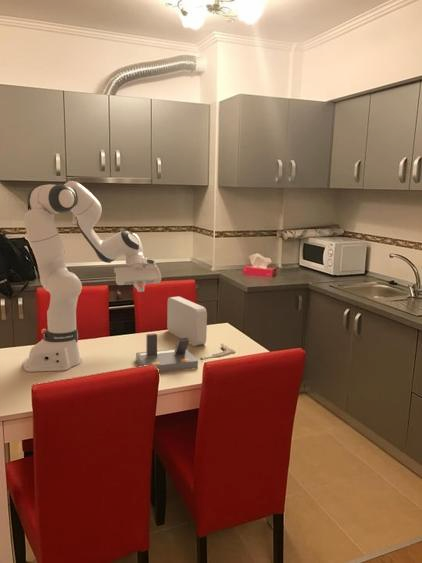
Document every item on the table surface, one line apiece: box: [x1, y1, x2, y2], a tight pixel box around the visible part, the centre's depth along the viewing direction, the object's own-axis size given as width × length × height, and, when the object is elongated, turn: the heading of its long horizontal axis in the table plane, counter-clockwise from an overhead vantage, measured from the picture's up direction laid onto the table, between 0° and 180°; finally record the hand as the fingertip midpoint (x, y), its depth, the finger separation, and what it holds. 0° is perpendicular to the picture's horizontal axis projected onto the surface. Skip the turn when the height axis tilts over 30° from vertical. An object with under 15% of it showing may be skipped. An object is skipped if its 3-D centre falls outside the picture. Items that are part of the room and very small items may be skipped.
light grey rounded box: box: [166, 296, 208, 347], centre depth 224 cm, size 29×8×18 cm, turn 33°
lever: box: [174, 337, 189, 355], centre depth 191 cm, size 5×2×10 cm
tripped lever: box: [145, 333, 158, 358], centre depth 189 cm, size 5×2×10 cm, turn 111°
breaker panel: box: [135, 348, 199, 374], centre depth 191 cm, size 22×16×3 cm
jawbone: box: [199, 343, 236, 361], centre depth 204 cm, size 9×20×2 cm, turn 151°
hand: (141, 291), depth 203 cm, fingers closed
